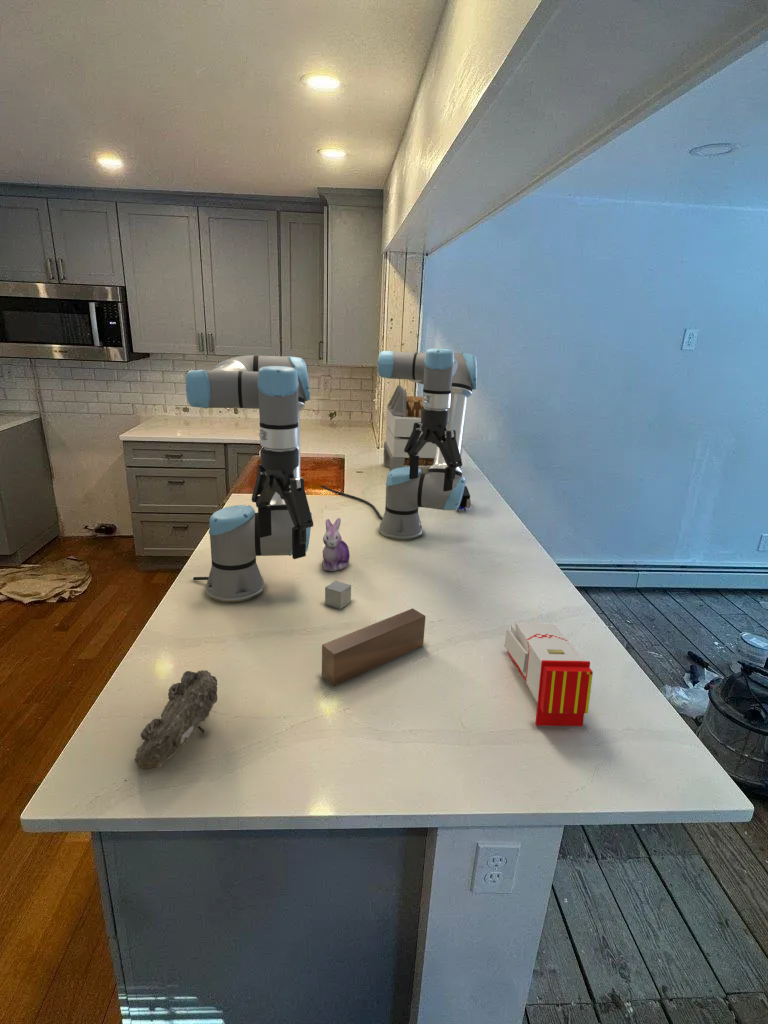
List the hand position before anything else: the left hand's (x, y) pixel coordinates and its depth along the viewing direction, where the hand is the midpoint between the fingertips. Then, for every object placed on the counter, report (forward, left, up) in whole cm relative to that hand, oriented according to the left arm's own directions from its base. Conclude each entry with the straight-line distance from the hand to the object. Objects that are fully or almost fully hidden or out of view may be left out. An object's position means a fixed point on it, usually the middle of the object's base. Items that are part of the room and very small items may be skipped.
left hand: (281, 546), depth 119 cm
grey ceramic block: (+4, +26, -27) cm, 38 cm away
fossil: (-8, -28, -27) cm, 39 cm away
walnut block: (+20, +4, -27) cm, 34 cm away
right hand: (+24, +50, +2) cm, 55 cm away
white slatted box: (+3, +160, -27) cm, 163 cm away
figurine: (-3, +48, -27) cm, 55 cm away
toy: (+56, +6, -27) cm, 63 cm away
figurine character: (+27, +116, -27) cm, 122 cm away
